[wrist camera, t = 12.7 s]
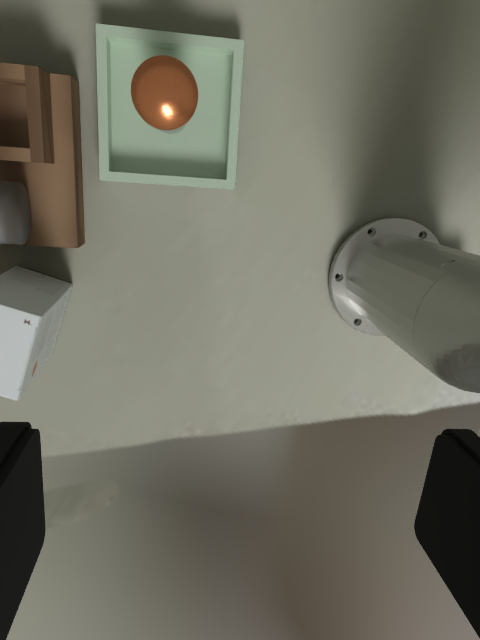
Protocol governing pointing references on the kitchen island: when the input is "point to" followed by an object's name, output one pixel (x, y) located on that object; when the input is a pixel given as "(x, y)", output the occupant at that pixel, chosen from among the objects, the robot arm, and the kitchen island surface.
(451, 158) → the kitchen island surface
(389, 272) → the robot arm
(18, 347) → the small box
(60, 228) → the brown wooden stepped holder
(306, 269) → the kitchen island surface
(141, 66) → the lock pin
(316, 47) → the kitchen island surface
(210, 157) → the tray
